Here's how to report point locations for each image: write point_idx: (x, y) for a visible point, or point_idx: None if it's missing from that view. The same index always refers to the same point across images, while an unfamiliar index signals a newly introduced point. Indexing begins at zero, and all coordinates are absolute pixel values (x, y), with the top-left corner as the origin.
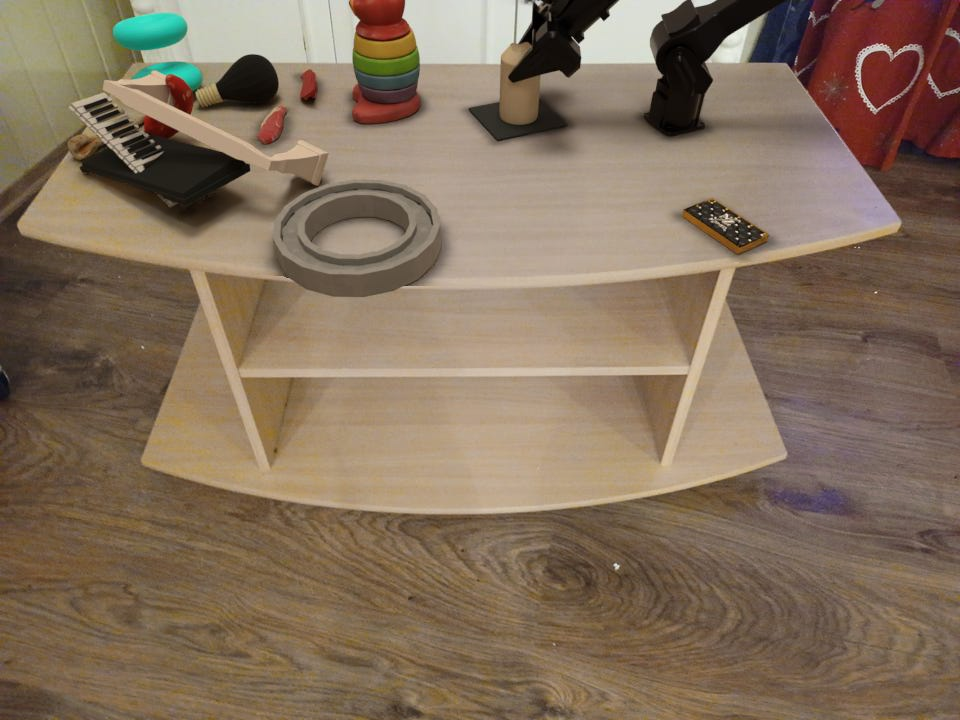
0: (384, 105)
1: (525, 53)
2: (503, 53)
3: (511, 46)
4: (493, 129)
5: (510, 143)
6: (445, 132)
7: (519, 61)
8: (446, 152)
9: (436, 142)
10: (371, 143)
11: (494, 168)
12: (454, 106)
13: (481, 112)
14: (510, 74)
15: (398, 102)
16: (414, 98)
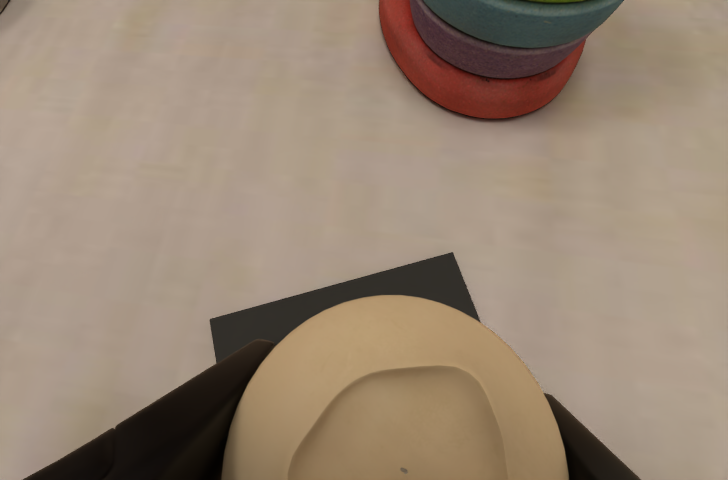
0: (408, 2)
1: (143, 476)
2: (421, 312)
3: (449, 375)
4: (282, 315)
5: (186, 366)
6: (306, 170)
7: (197, 410)
8: (186, 161)
9: (251, 141)
10: (281, 6)
11: (41, 283)
12: (479, 214)
13: (414, 291)
14: (242, 349)
15: (417, 30)
16: (459, 77)
